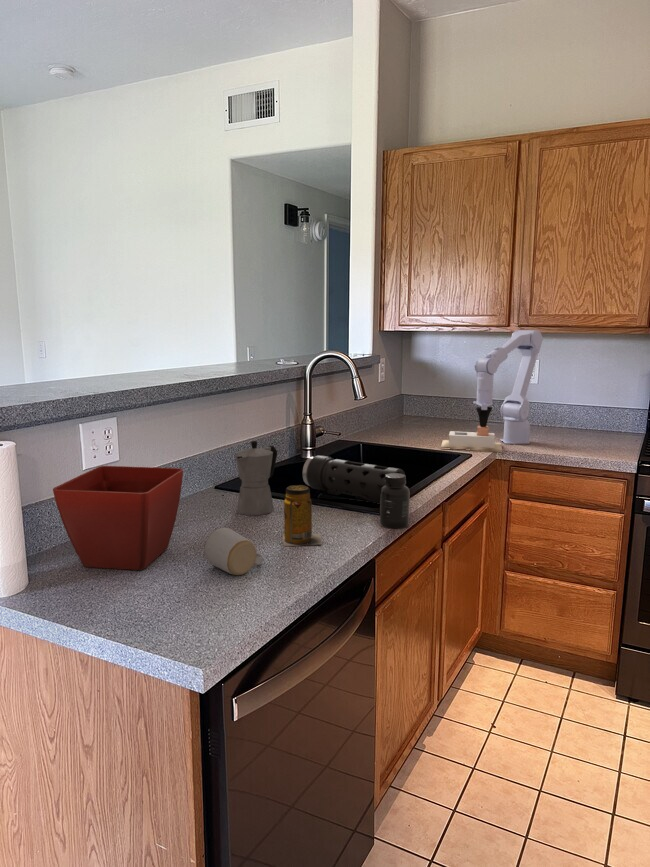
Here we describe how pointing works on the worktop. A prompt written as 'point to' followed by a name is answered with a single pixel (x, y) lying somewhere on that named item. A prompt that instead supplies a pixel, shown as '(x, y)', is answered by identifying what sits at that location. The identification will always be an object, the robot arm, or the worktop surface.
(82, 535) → the plant pot
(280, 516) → the worktop surface
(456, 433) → the grey cube
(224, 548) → the ceramic mug
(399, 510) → the supplement bottle
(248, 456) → the coffeepot
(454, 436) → the plunger panel
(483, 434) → the terracotta plunger
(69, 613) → the worktop surface
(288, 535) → the condiment
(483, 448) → the birch board
